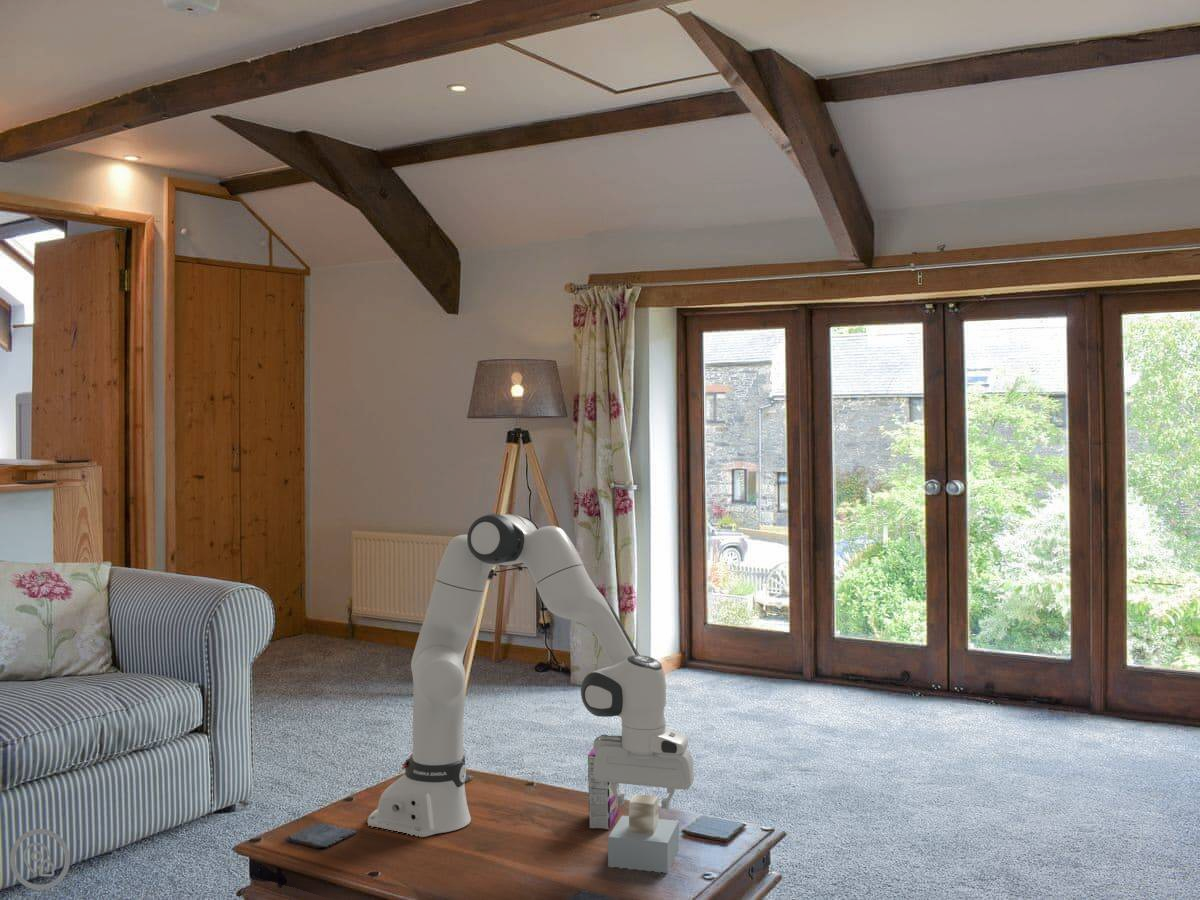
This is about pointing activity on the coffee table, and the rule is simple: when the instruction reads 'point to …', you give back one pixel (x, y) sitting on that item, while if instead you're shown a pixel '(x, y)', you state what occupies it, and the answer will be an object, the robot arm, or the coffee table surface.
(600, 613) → the robot arm
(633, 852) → the slate block
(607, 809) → the candy bar box
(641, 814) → the cream block
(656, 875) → the coffee table surface
